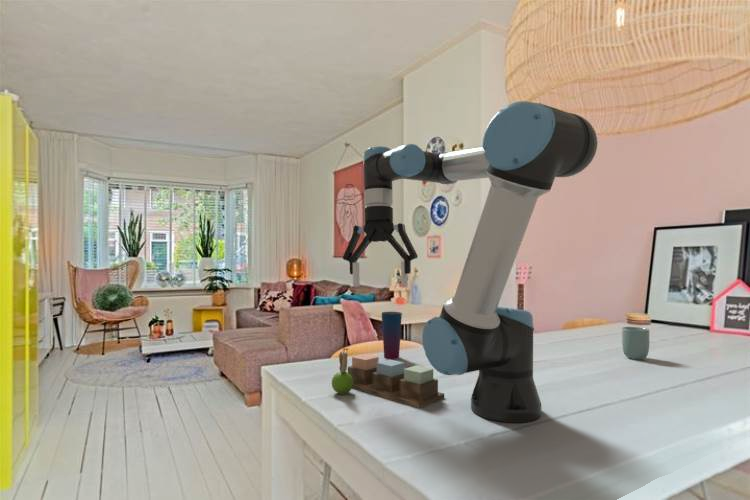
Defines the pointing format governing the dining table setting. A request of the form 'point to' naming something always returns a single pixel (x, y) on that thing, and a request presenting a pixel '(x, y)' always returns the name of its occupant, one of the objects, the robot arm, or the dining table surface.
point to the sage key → (418, 374)
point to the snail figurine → (342, 376)
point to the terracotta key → (364, 362)
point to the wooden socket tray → (395, 387)
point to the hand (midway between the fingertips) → (379, 286)
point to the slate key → (390, 368)
